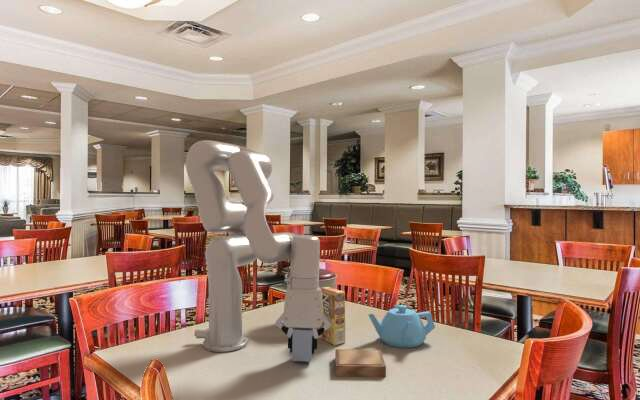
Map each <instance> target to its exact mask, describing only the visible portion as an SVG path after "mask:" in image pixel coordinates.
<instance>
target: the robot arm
mask: <svg viewBox="0 0 640 400" xmlns="http://www.w3.org/2000/svg"><path fill="white" fill-rule="evenodd" d="M185 169H186V174H187V177H188V180H189V182H190V184H191V187H192V189H193V193H194V196H195V197H194V198H195V201H196V205H197V208H198V212H199V216H200V220H201V223H202V226H203V228H204V230H205V231H206V232H208V233H211V234H223V233H227V234H228V235H226V236H225V235H224V236H218V237H215V238H213V239H212V240H211V241H210V242H209V243H208V244H207V246H206V248H205V252H204V256H205V263H206V268H207V275H208V328H206V329H195V330H194V337H195V338H196V339H204V340H203V342H202V346H203V348H204V349H205V350H207V351H209V352H210V351H211V352H217V353H218V352H219V353H220V352H221V353H222V352H223V353H224V352H225V353H226V352H233V351H237V350H239V349H242V348H245V347H246V346H247V344H248V338H247V337H246V336H244V335H243V280H242V276H241V275H240V272H239V269H238V268H239V267H243V266H247V265H250V264H252V263H254V262H255V261H256V260H257V259H258V260H259V261H260V262H262V263H264V264H274V263H278V262H284V261H287V260H288V261H289V260H290V269H289V270H290V271H289V272H290V276H289V277H288V278H285V277H284V283H285V284H287V283H289V284H290V286H289V287H288V288H286V291H285V297H284V303H283V304H284V305H283V312H282V313H281V314H280V316H279V317H278V318H277V319H276V320H275V322H274V325H275V326H276V327H277V328H278V329H280V330H281V331H282V333H284V334H285V335H286V337H287V349H288V350H289V354H292V339H293V328H308V329H312V332H313V336H312V355H315V350H318V339H319V338H320V337H319V336H320V335H321V334H322V333H323V332H324V331H325V330H327V329H328V328H330V327H331V323H330V321H329V320H328V319H327V317H326V316H325V315H324V313H323V299H322V291H321V288H320V287H319V269H320V250H321V241H320V239H319V237H318V236H315V235H309V234H308V235H307V234H302V235H301V234H296V233H293V232H285V231H284V232H275V233H272V231H271V229H270V226H269V224H268V222H267V218H266V208H267V206H268V205H269V204H270V203H271V202H272V201H273V199H274V192H273V190H272V188H271V186H270V184H269V182H268V178H269V177H271V175H272V171H273V164H272V162H271V159H270V158H269V156H267V155H266V154H265V153H262V152H258V151H255V150H252V149H250V148H247V147H243V146H241V145H237V144H234V143H228V142H227V143H226V142H224V141H223V142H221V141H217V140H211V139H209V140H207V139H205V140H204V139H203V140H199V141H196V142H195V143H194V144H192V145H191V146H190V148H189V149H188V151H187V154H186V158H185ZM214 170H215V171H224V172H229V174H230V176H231V178H232V181H233V183H234V185H235V187H236V189H237V192H238V193H239V196H240V198H241V200H242V202H243V203H242V202H239V201H236V200H235V201H233V200H228V199H227V197H226V193H225V189H224V186H223V184H222V181H221V180H220V179H219V177H218V176H217V175H216V173H215V171H214ZM322 322H324V325H323V326H322Z"/></svg>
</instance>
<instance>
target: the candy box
mask: <svg viewBox="0 0 640 400" xmlns="http://www.w3.org/2000/svg"><path fill="white" fill-rule="evenodd" d="M321 291H322V299H323V313H324V315H325V316H326V317H327V319H328V320H329V321H330V323H331V327H330V328H328V329H327V330H325V331H324V332H323V333H322V334H321V335H320V336H319V337H318V338H320V339H322V340H324V341H326V342H328V343H330V344H332V345H333V346H337V345H341V344H345V343H346V292H345V291H344V290H339V289H338V288H335V289H334V288H331V287H323V288H321ZM323 325H324V322H322V326H323Z"/></svg>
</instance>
